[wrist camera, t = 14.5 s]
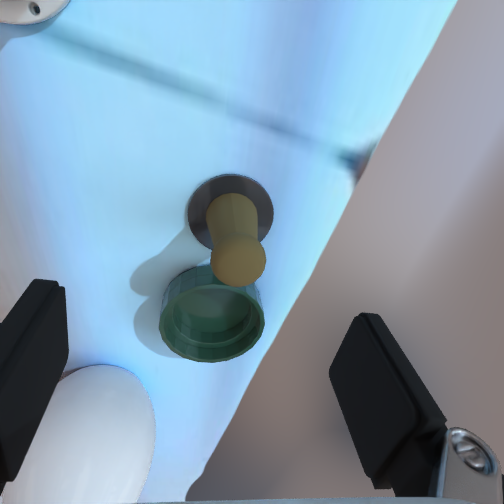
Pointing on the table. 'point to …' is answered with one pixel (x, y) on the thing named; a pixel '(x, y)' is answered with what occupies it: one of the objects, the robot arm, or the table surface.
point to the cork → (235, 240)
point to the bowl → (210, 317)
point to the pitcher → (89, 442)
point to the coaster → (225, 186)
